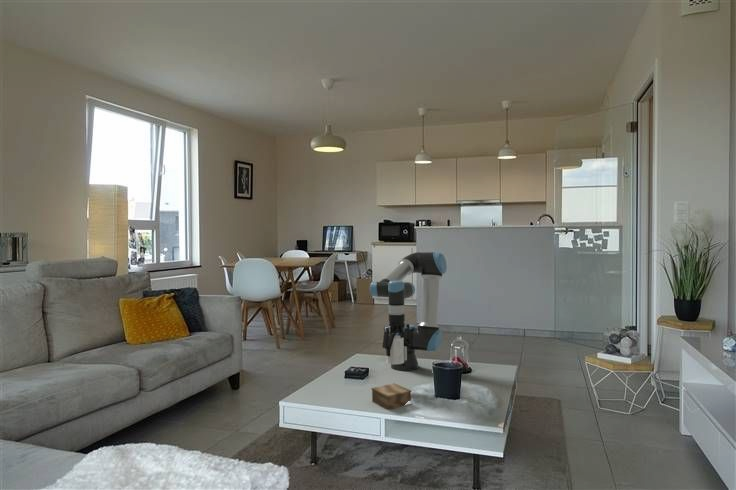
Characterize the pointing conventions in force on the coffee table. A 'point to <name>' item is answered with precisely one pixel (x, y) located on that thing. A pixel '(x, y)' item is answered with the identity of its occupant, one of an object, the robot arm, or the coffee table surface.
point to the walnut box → (391, 396)
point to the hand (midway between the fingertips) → (397, 361)
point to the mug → (397, 350)
